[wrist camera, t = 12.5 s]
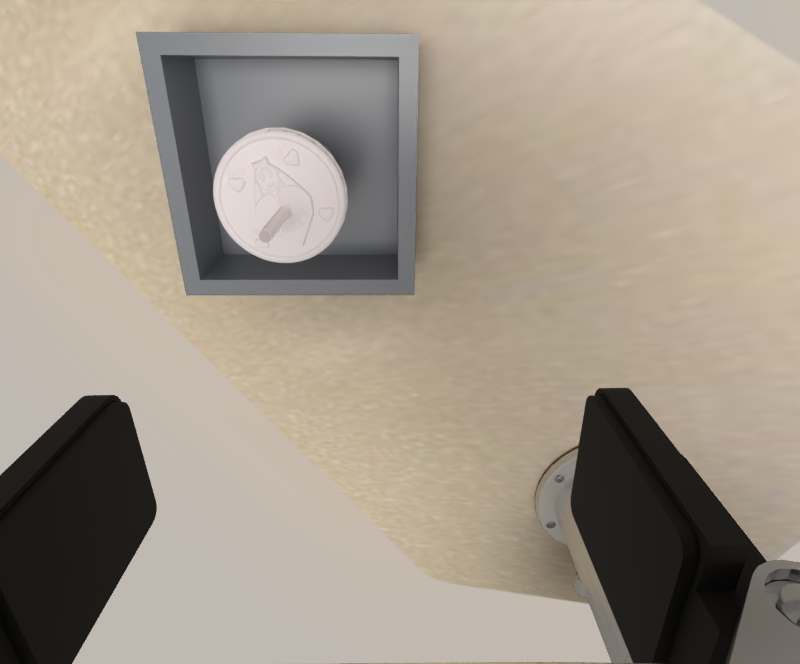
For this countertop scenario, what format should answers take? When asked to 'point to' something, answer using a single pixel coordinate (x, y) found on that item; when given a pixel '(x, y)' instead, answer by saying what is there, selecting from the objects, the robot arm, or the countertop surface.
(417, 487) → the countertop surface
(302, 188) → the smoothie
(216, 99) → the box
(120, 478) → the robot arm
